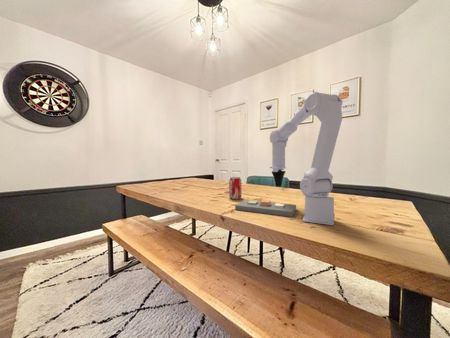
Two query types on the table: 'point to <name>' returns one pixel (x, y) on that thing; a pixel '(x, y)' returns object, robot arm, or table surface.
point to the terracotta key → (265, 203)
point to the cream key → (279, 205)
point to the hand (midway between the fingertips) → (278, 186)
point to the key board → (267, 208)
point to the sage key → (252, 202)
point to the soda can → (235, 188)
